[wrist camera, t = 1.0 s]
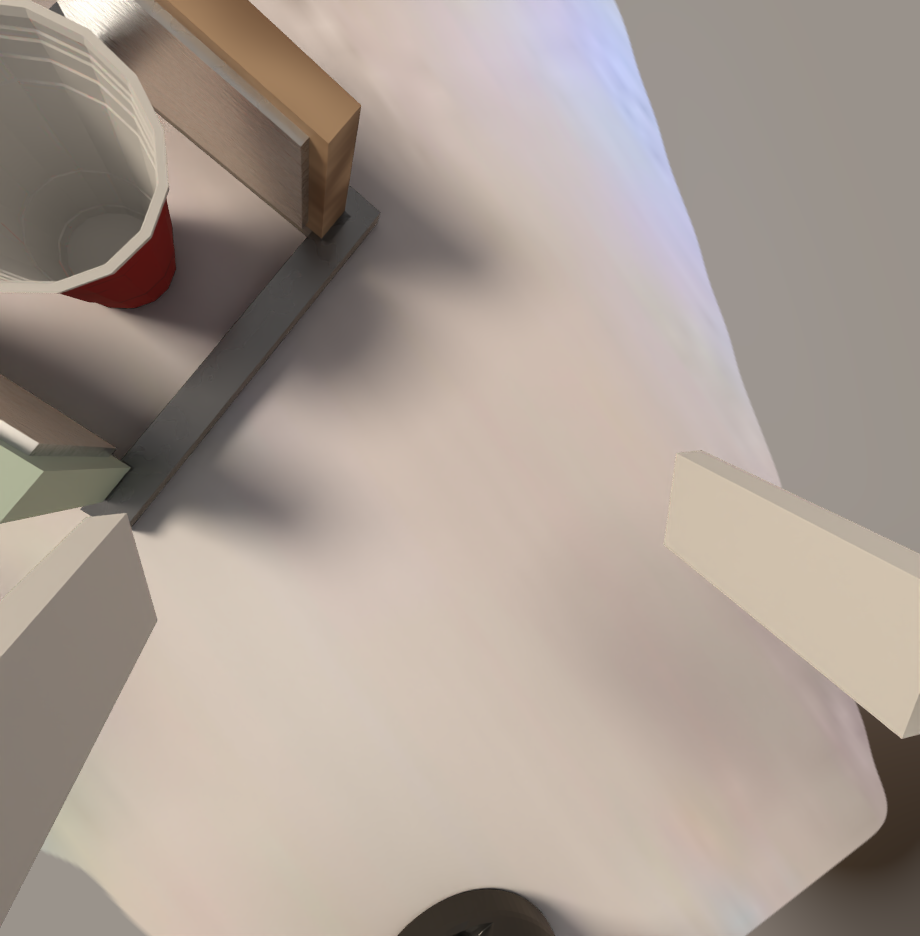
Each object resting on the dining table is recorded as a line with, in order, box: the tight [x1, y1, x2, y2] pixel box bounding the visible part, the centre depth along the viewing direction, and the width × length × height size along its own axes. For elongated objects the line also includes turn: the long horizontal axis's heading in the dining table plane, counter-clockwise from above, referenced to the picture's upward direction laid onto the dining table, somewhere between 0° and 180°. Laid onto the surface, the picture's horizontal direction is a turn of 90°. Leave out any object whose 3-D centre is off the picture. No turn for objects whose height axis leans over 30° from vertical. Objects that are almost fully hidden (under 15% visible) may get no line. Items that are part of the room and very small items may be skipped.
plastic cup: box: [0, 0, 176, 308], centre depth 24 cm, size 11×11×12 cm
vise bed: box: [49, 0, 380, 527], centre depth 24 cm, size 25×19×12 cm
